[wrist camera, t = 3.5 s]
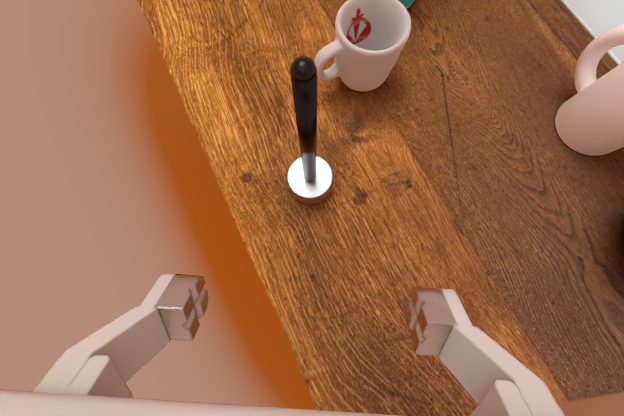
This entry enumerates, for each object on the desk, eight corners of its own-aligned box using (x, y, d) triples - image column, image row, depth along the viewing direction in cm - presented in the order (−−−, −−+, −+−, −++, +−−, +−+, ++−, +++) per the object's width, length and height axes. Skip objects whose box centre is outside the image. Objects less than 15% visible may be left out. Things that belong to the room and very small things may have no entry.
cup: (329, 118, 36) (332, 76, 28) (302, 70, 38) (298, 17, 30) (403, 85, 37) (426, 35, 29) (373, 39, 39) (388, -20, 31)
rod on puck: (333, 202, 34) (359, 100, 14) (291, 206, 34) (256, 110, 14) (328, 162, 35) (345, 15, 15) (288, 167, 35) (250, 25, 15)
